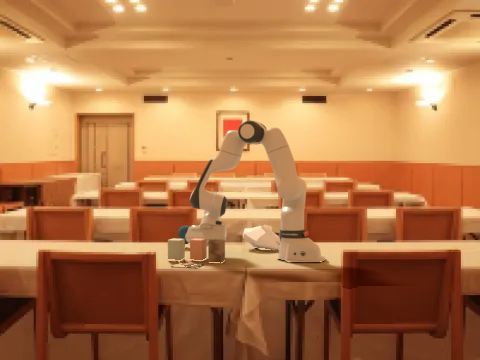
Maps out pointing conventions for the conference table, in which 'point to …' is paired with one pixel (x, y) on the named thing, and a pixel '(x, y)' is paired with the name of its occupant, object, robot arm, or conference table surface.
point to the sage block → (176, 249)
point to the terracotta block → (198, 249)
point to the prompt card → (191, 264)
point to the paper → (262, 237)
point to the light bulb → (183, 233)
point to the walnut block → (216, 251)
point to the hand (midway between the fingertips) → (202, 248)
